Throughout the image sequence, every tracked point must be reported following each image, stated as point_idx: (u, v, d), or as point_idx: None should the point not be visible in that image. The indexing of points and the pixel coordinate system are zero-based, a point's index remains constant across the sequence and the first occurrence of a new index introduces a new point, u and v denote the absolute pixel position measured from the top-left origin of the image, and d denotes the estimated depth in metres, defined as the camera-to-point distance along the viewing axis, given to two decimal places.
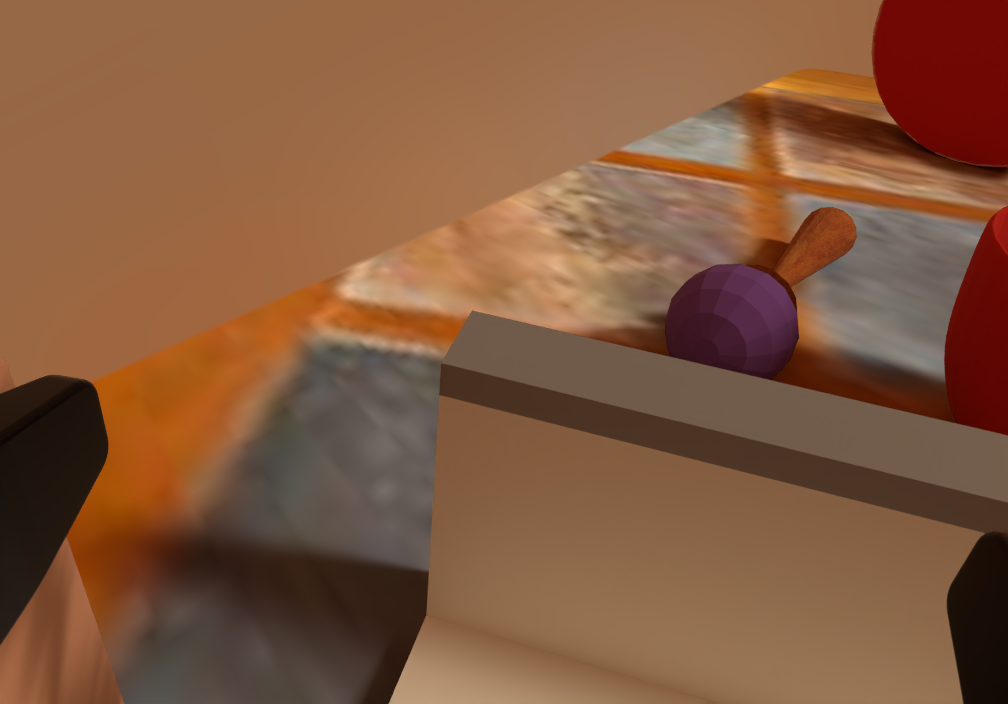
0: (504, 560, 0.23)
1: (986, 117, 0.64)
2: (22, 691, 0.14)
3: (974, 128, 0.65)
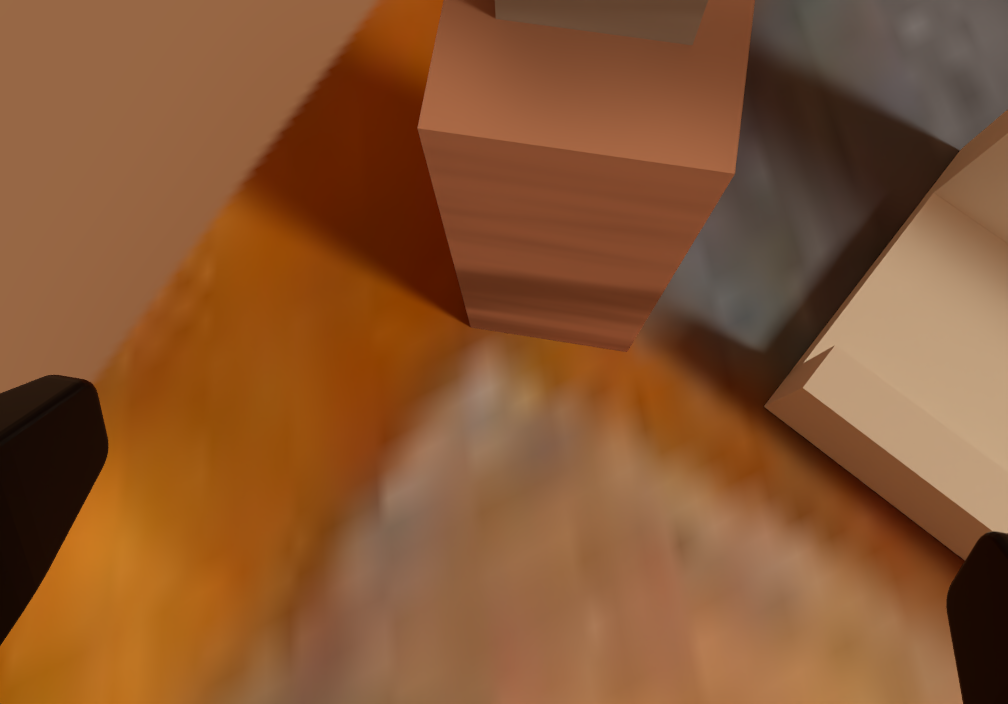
0: None
1: None
2: None
3: None
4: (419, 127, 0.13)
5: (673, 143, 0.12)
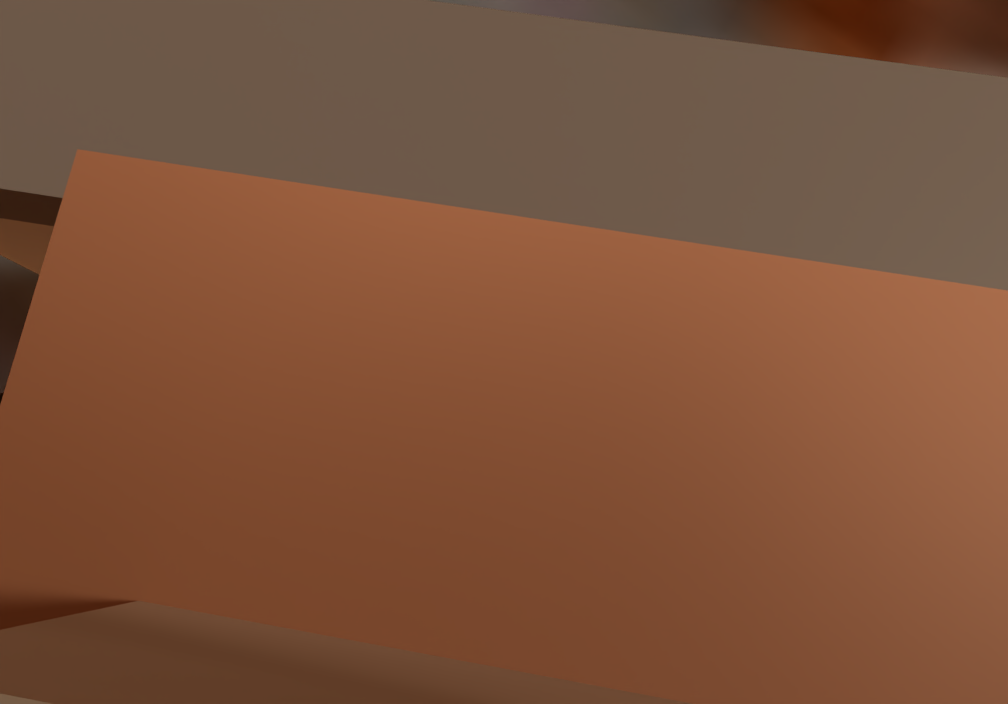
0: None
1: None
2: None
3: None
4: None
5: None
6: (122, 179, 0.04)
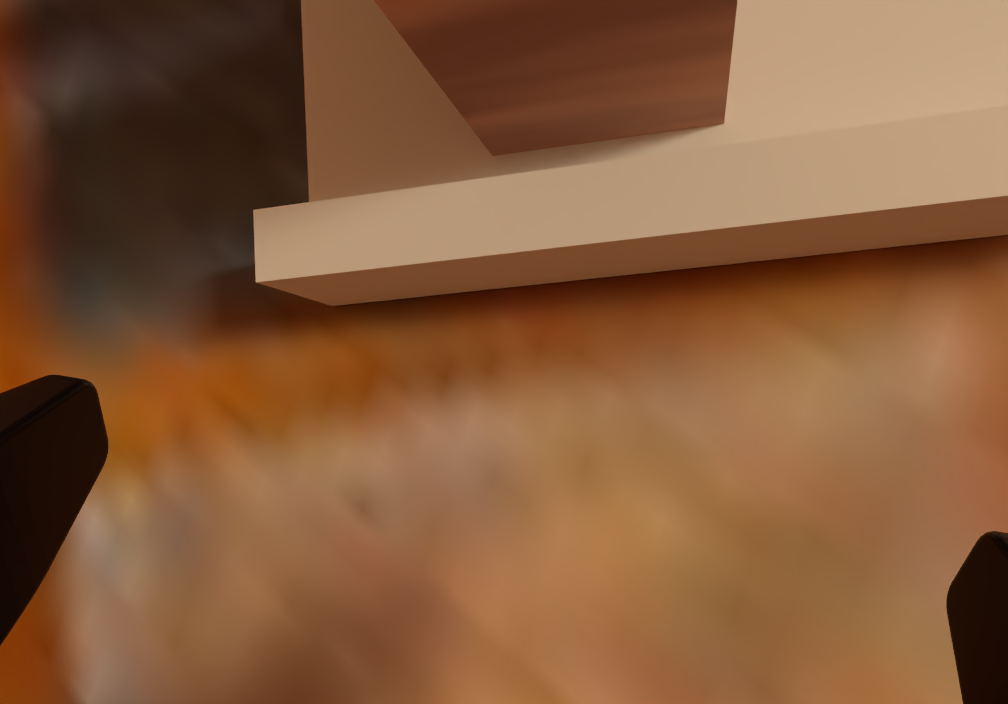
0: None
1: None
2: None
3: None
4: None
5: None
6: None
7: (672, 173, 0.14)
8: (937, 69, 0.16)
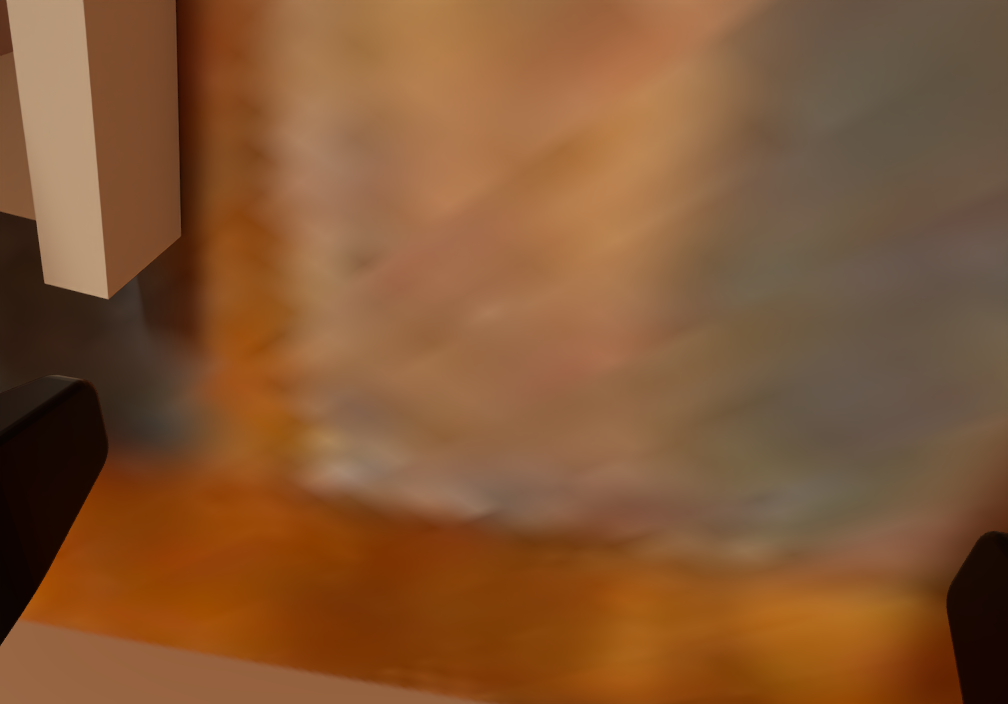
0: None
1: None
2: None
3: None
4: None
5: None
6: None
7: None
8: None
